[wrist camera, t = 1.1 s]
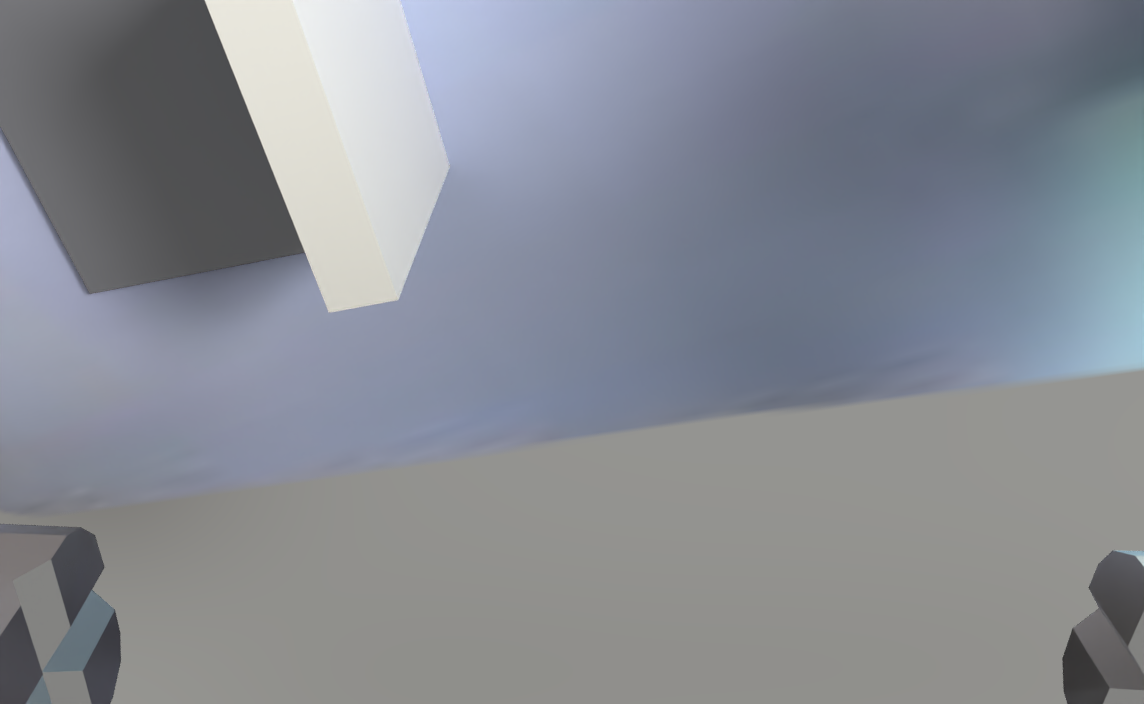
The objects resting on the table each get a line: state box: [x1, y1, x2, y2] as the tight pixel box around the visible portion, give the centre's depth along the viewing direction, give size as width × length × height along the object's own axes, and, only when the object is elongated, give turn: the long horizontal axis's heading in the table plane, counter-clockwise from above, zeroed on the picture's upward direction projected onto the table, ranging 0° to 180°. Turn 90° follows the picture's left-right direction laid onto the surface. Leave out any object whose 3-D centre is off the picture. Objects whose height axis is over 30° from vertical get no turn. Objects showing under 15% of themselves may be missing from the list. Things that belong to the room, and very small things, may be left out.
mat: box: [0, 0, 305, 294], centre depth 34 cm, size 12×14×1 cm
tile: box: [205, 0, 450, 313], centre depth 29 cm, size 2×10×10 cm, turn 12°
